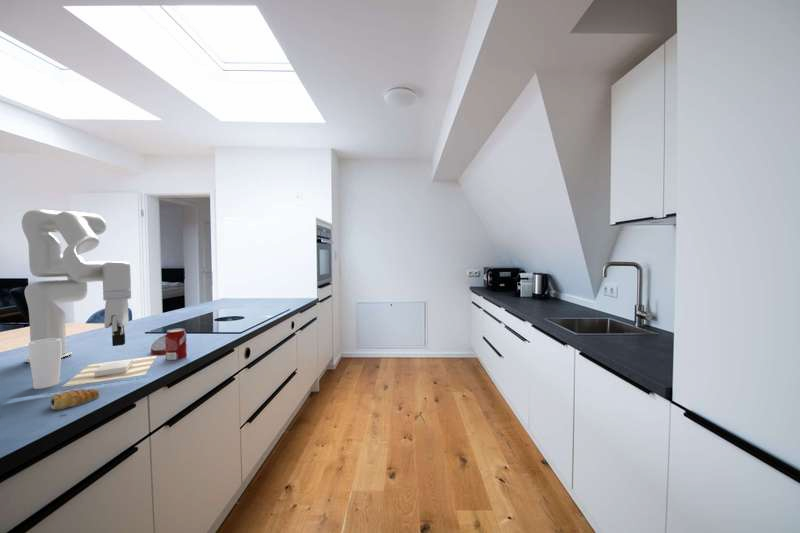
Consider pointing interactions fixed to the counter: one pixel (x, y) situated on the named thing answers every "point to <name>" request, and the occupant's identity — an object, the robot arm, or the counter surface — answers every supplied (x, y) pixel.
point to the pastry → (72, 398)
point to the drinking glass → (45, 362)
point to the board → (88, 374)
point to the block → (114, 367)
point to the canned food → (158, 346)
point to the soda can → (175, 344)
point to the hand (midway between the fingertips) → (118, 344)
